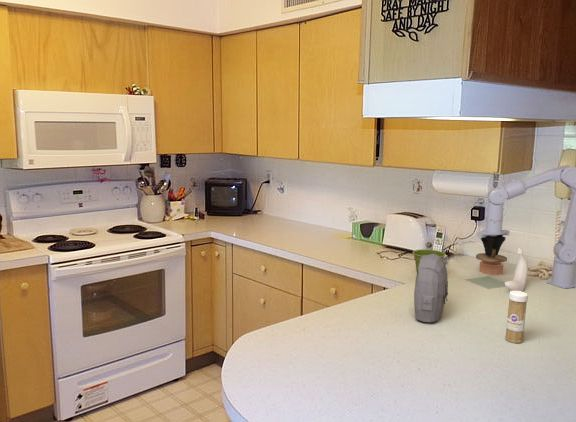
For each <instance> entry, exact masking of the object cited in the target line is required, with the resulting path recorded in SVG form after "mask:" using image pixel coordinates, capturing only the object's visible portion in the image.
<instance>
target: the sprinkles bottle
mask: <svg viewBox="0 0 576 422" xmlns="http://www.w3.org/2000/svg"><path fill="white" fill-rule="evenodd" d="M528 298H529V295H528V293H527V292H524V291H509V293H508V300H509V301H508V309H507V311H508V312H507V316H506V317H507V318H506V326H505V327H506V329H505V330H506V331H505V337H504V339H505V340H506V341H507V342H509V343H513V344H522V343H523V342H524V339H523V338H524V330H525V324H526V323H525V322H526V313H527V312H526V311H527V302H528Z"/></svg>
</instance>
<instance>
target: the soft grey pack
mask: <svg viewBox="0 0 576 422" xmlns="http://www.w3.org/2000/svg"><path fill="white" fill-rule="evenodd" d="M448 284H449V281H448V271H447V267H446V263H445V261H444V259H442V258H441V257H440V256H438V255H436V254H430V255H423V256H422V258H421V259H420V263H419V267H418V272H417V271H416V277H415V284H414V289H413V290H414V291H413V292H414V293H413V300H414V301H413V305H414V306H413V307H414V317H415V319H417V320H418V321H420V322H423V323H434V322H437V321H438V320H439V319H440V318H441V316H442V314H443V312H444V307H445V305H446V302H448V295H449V292H448V291H449V285H448Z"/></svg>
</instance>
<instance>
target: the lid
mask: <svg viewBox="0 0 576 422" xmlns="http://www.w3.org/2000/svg"><path fill="white" fill-rule="evenodd" d="M475 259H476V260H479V261H487V262H501V263H505V262H507V261H508V257H507V256H505V255H503V254H498V255H496V249H494V248H492V254H491V256H488V255H486V254H485V252H482V253H477V254H476V255H475Z"/></svg>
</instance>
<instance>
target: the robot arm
mask: <svg viewBox="0 0 576 422" xmlns="http://www.w3.org/2000/svg"><path fill="white" fill-rule="evenodd" d="M547 182H554V183H555V182H556V183H562V184H563V185H564V186H566V188H568V190H569V191H570V193H571V195H570V199H569V203H568V207H567V210H566V216H565V220H564V224H563V227H562V230H561V231H562V232H561V234H560V236H558V240H557V242H556V243H555V244H554V246H553V250H552V251H553V253H554V255H555V257H554V258H553V262H552V271H551V280H547V281H545V283H546V284H549V285H551V286H555V287H558V288H561V289H569V288H570V289H571V288H576V167H575V166H570V165H568V164H567V165H565V164H564V165H561V166H559V167H553V168H551V169H548V170H545V171H543V172H541V173H538V174H536V175H534V176H532V177H530V178H527V179H524V180H522V179H519V178H518V179H515V178H513V179H511V180H510V182H508V183H505V184H503V185H502V184H499V185H498V187H493V188H491V189H489V191H488V192H487V194H486V198H487V200H488V201H487V208H486V219H485V221H486V222H485V229H483V230H482V231H477V232H476V238H479V239H480V240H481V242H482V245H483V248H484V253H485V254H486V255H488V256H491V254H492V248H494V249H496V255H499V252H500V249H501V247H502V245H503V244H504V242H505V241H506V237H505V236H510V230H508V229H503V221H504V220H503V219H504V203H505V202H506V200H511V199H514V198H516V197H518V196H521V195H525V194H526V192H527V190H528V189H530V188H533V187H536V186H540V185H543V184H545V183H547Z"/></svg>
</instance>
